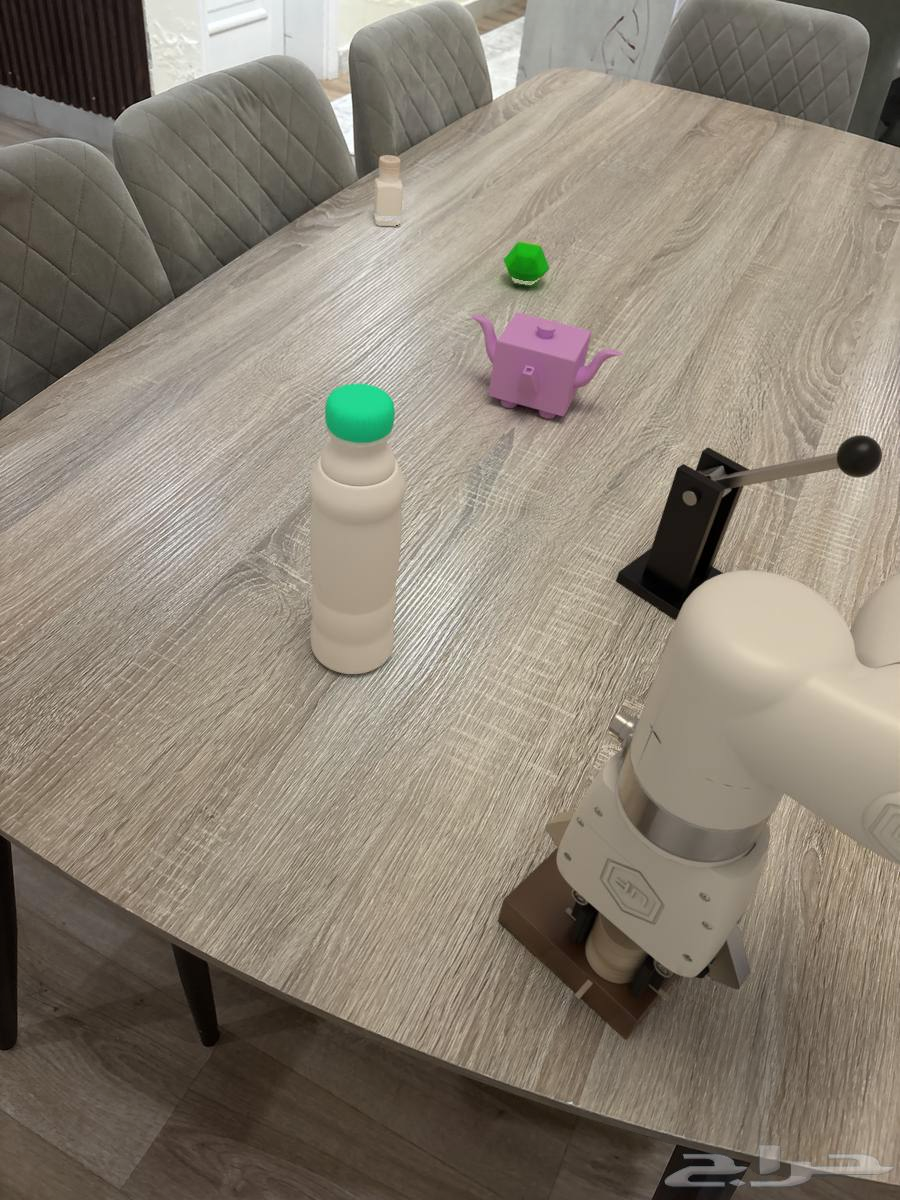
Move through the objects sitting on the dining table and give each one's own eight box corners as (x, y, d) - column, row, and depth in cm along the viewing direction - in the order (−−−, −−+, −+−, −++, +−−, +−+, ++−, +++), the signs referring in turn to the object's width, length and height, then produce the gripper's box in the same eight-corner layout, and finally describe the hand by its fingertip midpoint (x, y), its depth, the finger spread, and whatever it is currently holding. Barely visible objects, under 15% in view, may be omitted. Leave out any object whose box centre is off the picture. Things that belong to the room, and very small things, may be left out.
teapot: (442, 408, 110) (451, 332, 103) (478, 358, 119) (488, 284, 112) (591, 450, 106) (609, 374, 100) (616, 395, 116) (634, 322, 109)
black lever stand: (729, 587, 92) (776, 473, 82) (684, 625, 87) (728, 509, 78) (662, 546, 95) (700, 431, 86) (615, 580, 91) (650, 464, 81)
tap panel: (710, 952, 64) (724, 930, 62) (618, 1066, 58) (630, 1046, 56) (578, 842, 69) (586, 818, 67) (481, 936, 63) (487, 913, 61)
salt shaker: (401, 228, 145) (404, 164, 139) (375, 227, 145) (377, 163, 138) (398, 217, 148) (401, 154, 142) (373, 216, 147) (375, 153, 141)
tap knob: (659, 954, 60) (678, 918, 57) (622, 997, 58) (640, 962, 55) (609, 912, 62) (626, 874, 59) (572, 952, 60) (587, 915, 57)
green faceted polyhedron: (529, 242, 128) (537, 217, 134) (491, 265, 131) (501, 239, 138) (556, 285, 131) (563, 258, 138) (519, 307, 135) (527, 280, 141)
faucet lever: (894, 464, 72) (882, 425, 71) (876, 480, 70) (863, 440, 69) (710, 497, 85) (698, 464, 84) (691, 511, 83) (679, 477, 83)
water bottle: (378, 611, 84) (392, 364, 67) (404, 668, 80) (426, 418, 63) (301, 627, 82) (296, 375, 65) (323, 686, 78) (324, 432, 60)
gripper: (522, 727, 49) (480, 901, 62) (807, 952, 41) (693, 1097, 54) (607, 657, 53) (552, 833, 66) (880, 850, 46) (759, 1007, 58)
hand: (616, 951), depth 60 cm, fingers closed on tap knob, tap panel, 4 cm apart
